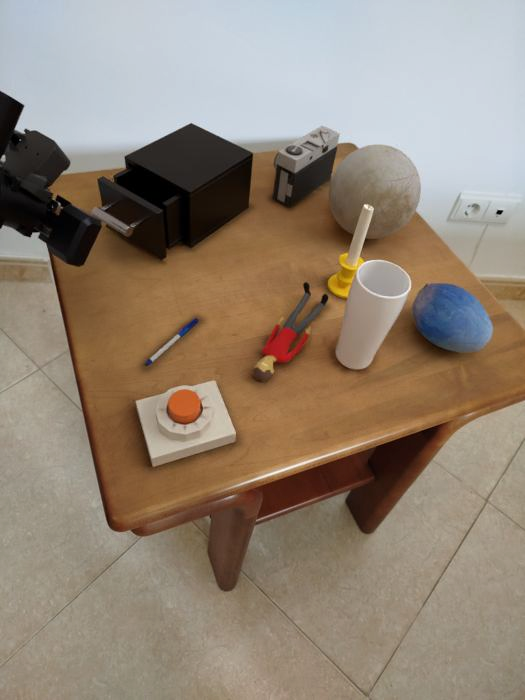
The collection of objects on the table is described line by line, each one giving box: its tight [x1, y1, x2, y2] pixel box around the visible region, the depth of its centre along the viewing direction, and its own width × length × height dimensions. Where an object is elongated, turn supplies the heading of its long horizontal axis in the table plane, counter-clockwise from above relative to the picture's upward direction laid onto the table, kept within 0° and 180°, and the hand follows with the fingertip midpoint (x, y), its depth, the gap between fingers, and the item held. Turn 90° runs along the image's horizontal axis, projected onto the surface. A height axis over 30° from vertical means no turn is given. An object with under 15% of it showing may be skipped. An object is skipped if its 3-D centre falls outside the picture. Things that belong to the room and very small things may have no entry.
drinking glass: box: [335, 259, 412, 371], centre depth 63 cm, size 7×7×15 cm
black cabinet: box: [124, 122, 254, 249], centre depth 82 cm, size 16×14×11 cm
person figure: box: [252, 281, 330, 382], centre depth 68 cm, size 5×4×18 cm
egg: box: [411, 282, 494, 354], centre depth 70 cm, size 9×9×15 cm
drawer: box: [91, 165, 187, 262], centre depth 77 cm, size 18×12×9 cm
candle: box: [327, 203, 374, 299], centre depth 71 cm, size 5×5×16 cm
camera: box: [272, 125, 341, 209], centre depth 90 cm, size 14×8×10 cm, turn 141°
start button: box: [168, 389, 200, 424], centre depth 56 cm, size 4×4×2 cm
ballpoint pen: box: [145, 317, 199, 366], centre depth 67 cm, size 10×1×1 cm, turn 147°
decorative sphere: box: [328, 144, 422, 240], centre depth 81 cm, size 15×15×15 cm
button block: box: [135, 379, 237, 468], centre depth 58 cm, size 10×8×4 cm
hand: (82, 227), depth 67 cm, fingers closed
